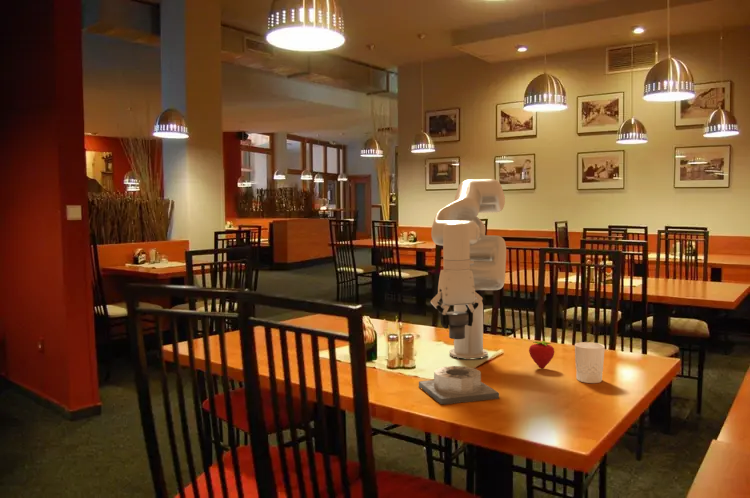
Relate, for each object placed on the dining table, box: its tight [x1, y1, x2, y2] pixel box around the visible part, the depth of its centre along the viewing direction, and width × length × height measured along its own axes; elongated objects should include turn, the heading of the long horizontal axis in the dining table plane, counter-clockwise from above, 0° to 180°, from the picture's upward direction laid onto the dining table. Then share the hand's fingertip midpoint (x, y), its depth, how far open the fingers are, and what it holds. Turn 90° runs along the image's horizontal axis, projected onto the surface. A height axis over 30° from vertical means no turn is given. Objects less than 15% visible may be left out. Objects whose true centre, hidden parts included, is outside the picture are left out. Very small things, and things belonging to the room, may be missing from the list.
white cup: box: [574, 341, 605, 384], centre depth 168 cm, size 8×8×10 cm
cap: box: [447, 310, 469, 340], centre depth 173 cm, size 7×7×7 cm
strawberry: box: [528, 337, 555, 369], centre depth 181 cm, size 6×8×10 cm
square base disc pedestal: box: [418, 365, 500, 405], centre depth 158 cm, size 16×16×6 cm
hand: (456, 325), depth 173 cm, fingers closed on cap, 6 cm apart
